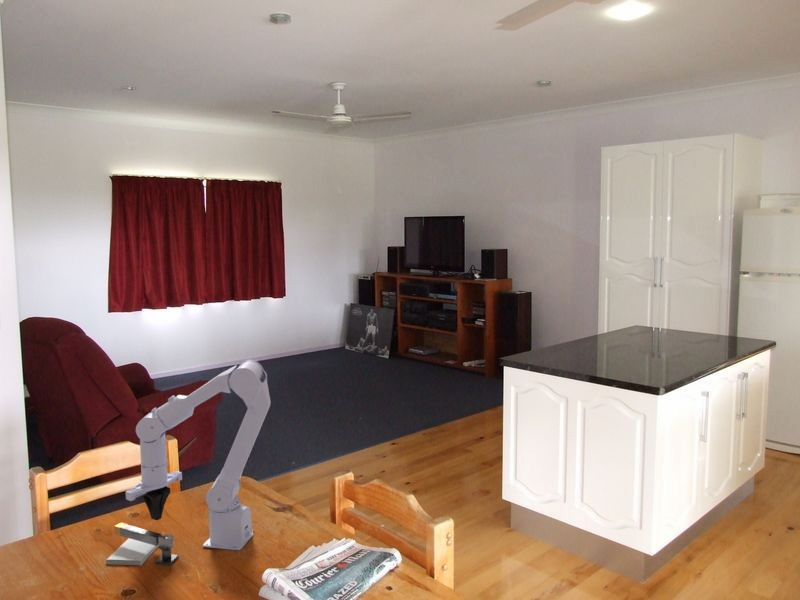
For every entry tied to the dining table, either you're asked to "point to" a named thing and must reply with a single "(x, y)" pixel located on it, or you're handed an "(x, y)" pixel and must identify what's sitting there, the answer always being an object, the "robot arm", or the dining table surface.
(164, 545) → the grey long bar
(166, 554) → the grey small stand
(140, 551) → the hard drive
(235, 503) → the robot arm
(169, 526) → the dining table surface
